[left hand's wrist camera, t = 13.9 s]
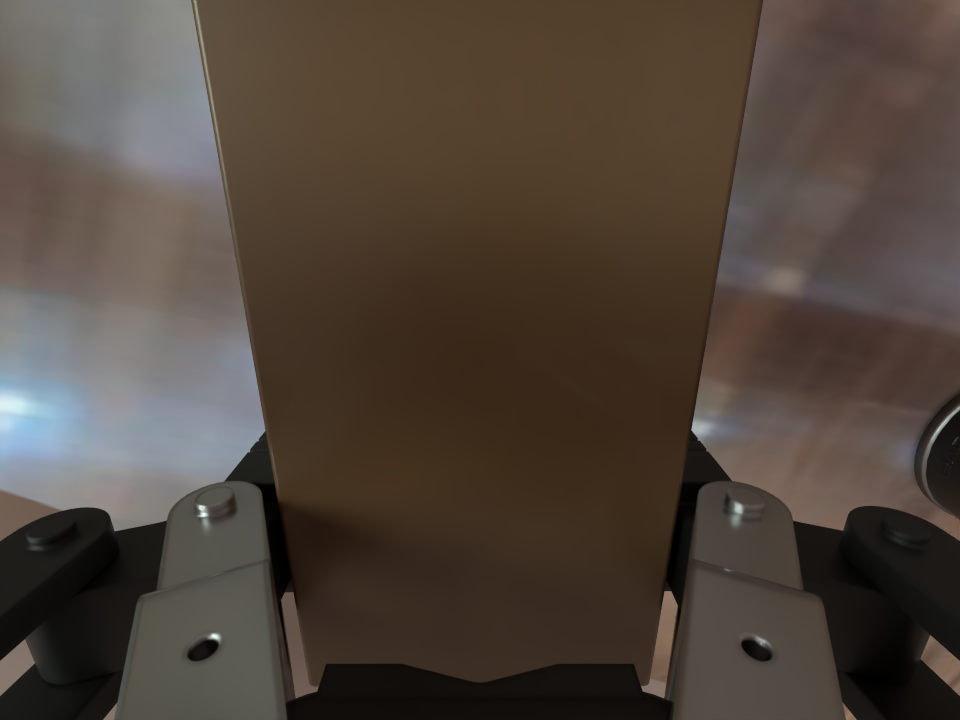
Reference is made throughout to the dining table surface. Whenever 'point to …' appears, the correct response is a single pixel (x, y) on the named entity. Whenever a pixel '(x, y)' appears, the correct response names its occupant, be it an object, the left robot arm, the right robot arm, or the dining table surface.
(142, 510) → the dining table surface
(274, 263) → the box
